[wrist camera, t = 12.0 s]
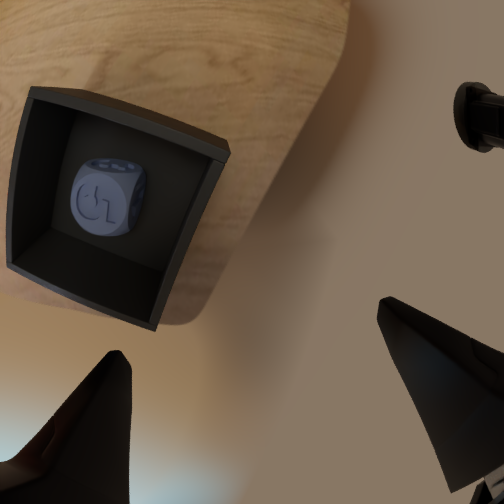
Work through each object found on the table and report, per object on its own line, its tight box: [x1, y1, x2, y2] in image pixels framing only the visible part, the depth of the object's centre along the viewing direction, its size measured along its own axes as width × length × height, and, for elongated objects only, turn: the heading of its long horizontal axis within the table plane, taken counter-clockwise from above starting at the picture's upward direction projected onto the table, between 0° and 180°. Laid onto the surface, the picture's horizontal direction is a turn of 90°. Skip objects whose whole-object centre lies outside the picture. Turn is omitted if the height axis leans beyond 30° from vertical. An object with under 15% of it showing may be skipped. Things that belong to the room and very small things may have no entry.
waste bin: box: [6, 86, 231, 332], centre depth 15 cm, size 12×12×7 cm
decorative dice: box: [70, 158, 146, 236], centre depth 16 cm, size 4×4×4 cm
